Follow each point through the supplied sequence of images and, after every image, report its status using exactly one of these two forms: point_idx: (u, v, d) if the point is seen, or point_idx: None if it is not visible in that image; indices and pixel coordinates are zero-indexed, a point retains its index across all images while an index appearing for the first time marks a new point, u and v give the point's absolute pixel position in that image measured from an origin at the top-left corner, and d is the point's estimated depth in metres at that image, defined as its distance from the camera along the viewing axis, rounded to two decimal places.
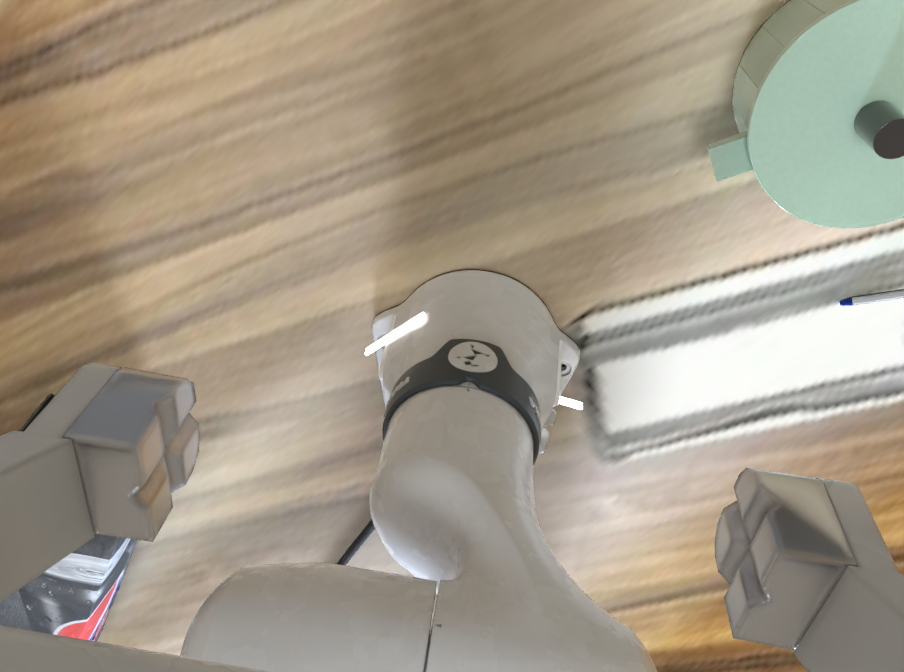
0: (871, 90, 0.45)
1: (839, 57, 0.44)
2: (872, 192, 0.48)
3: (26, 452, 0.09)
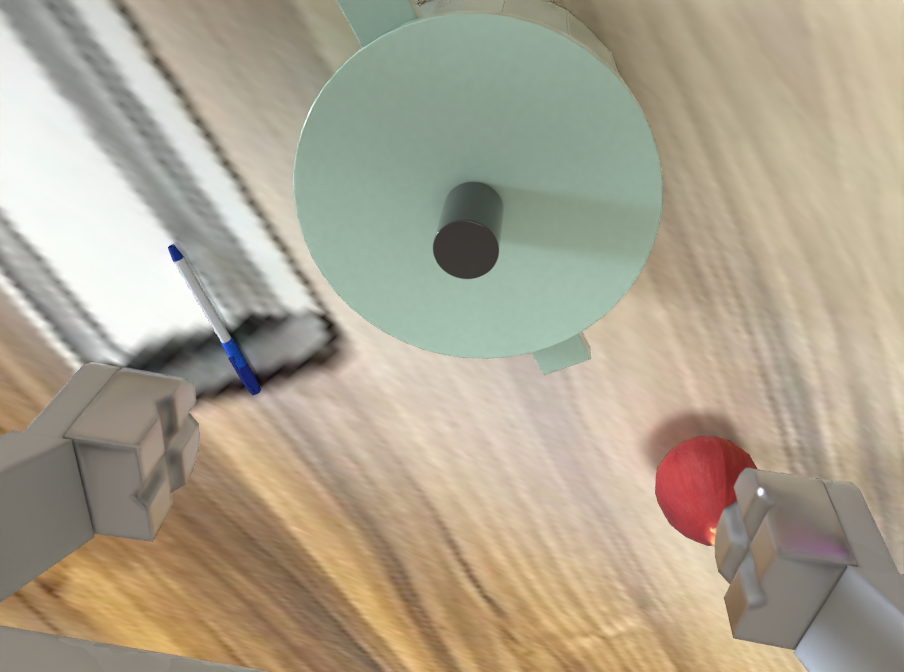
0: (517, 191, 0.29)
1: (565, 130, 0.28)
2: (363, 240, 0.31)
3: (26, 452, 0.09)
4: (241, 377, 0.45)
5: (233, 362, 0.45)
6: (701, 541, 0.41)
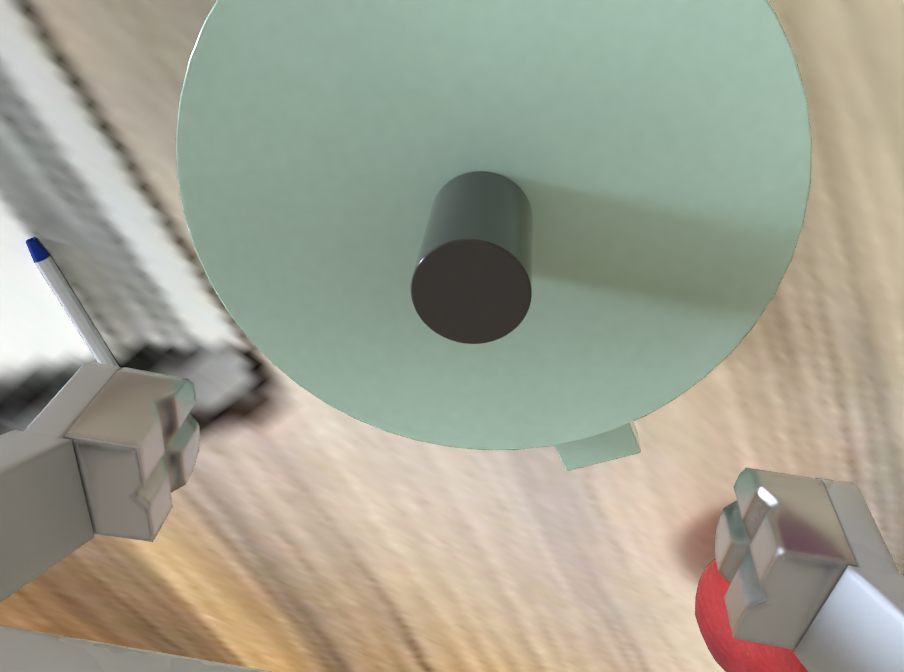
0: (559, 192, 0.17)
1: (654, 89, 0.16)
2: (293, 258, 0.19)
3: (26, 452, 0.09)
4: None
5: None
6: None
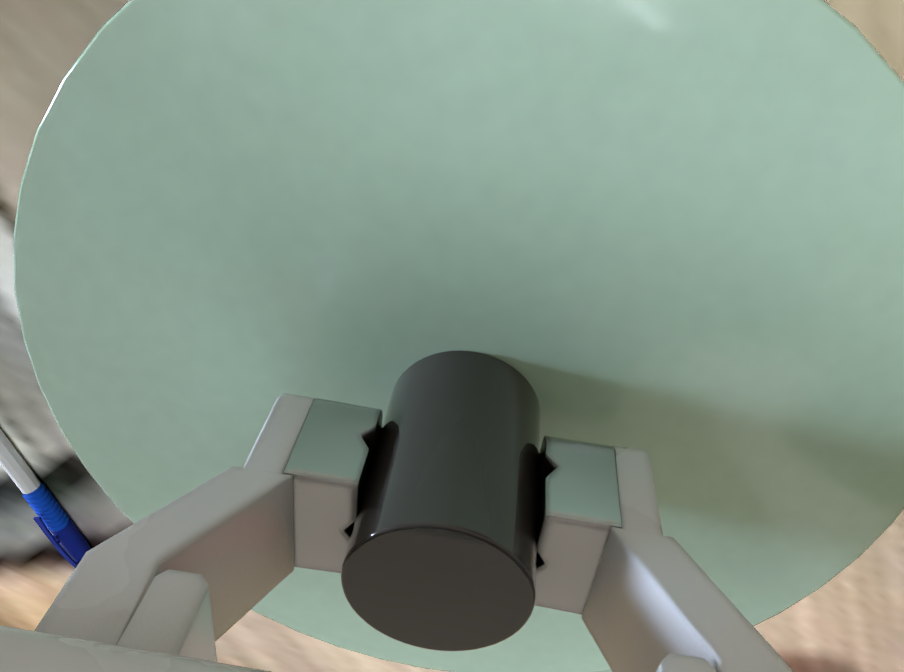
0: (580, 382, 0.11)
1: (735, 250, 0.10)
2: (198, 446, 0.13)
3: (254, 489, 0.09)
4: (57, 547, 0.27)
5: (42, 525, 0.27)
6: None
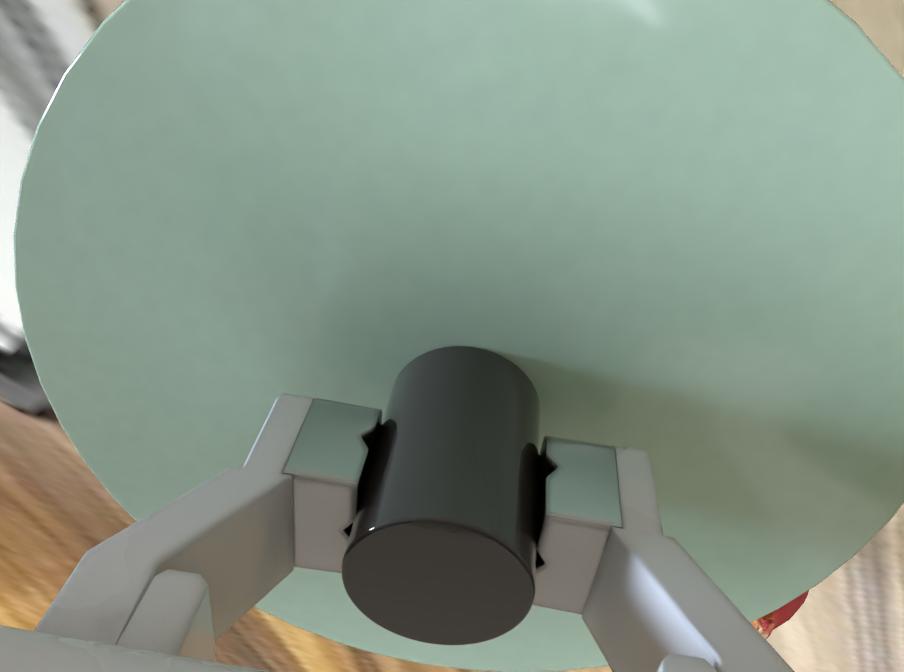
0: (579, 377, 0.12)
1: (733, 245, 0.10)
2: (198, 442, 0.13)
3: (254, 489, 0.09)
4: None
5: None
6: None
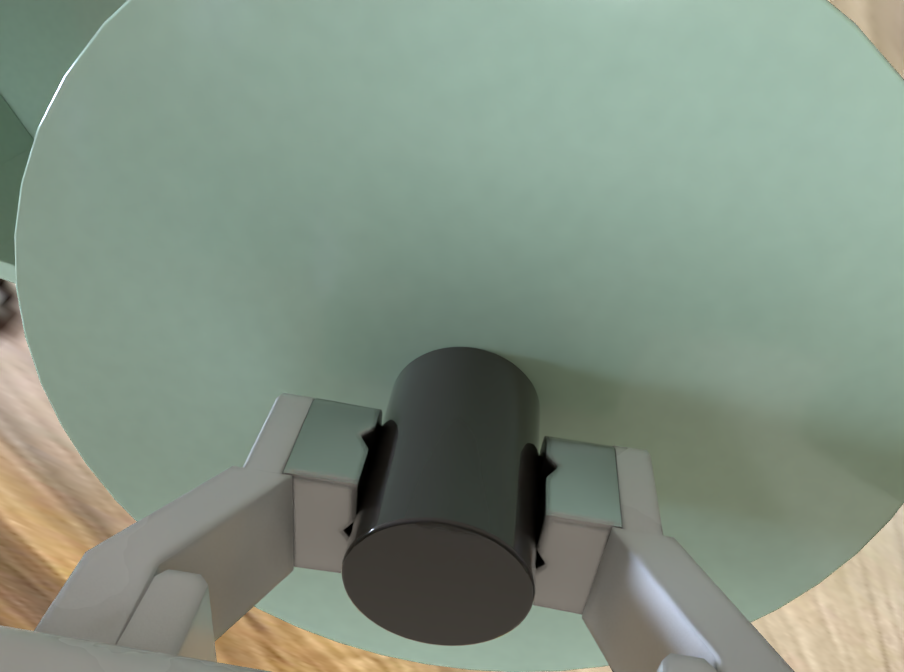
0: (579, 378, 0.12)
1: (733, 246, 0.10)
2: (199, 442, 0.13)
3: (254, 489, 0.09)
4: None
5: None
6: None
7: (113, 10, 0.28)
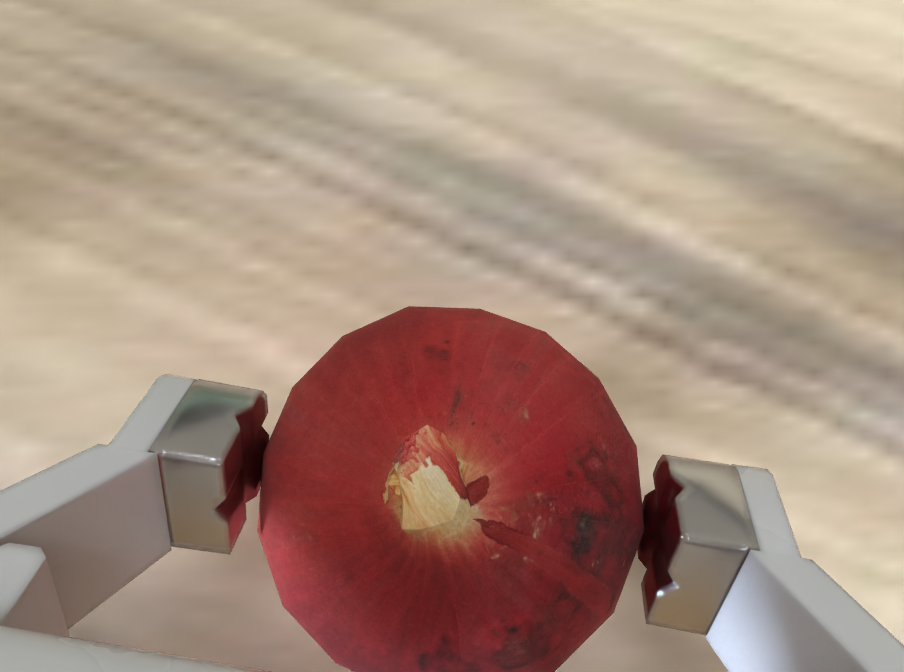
0: None
1: None
2: None
3: (114, 466, 0.09)
4: None
5: None
6: (455, 608, 0.09)
7: None
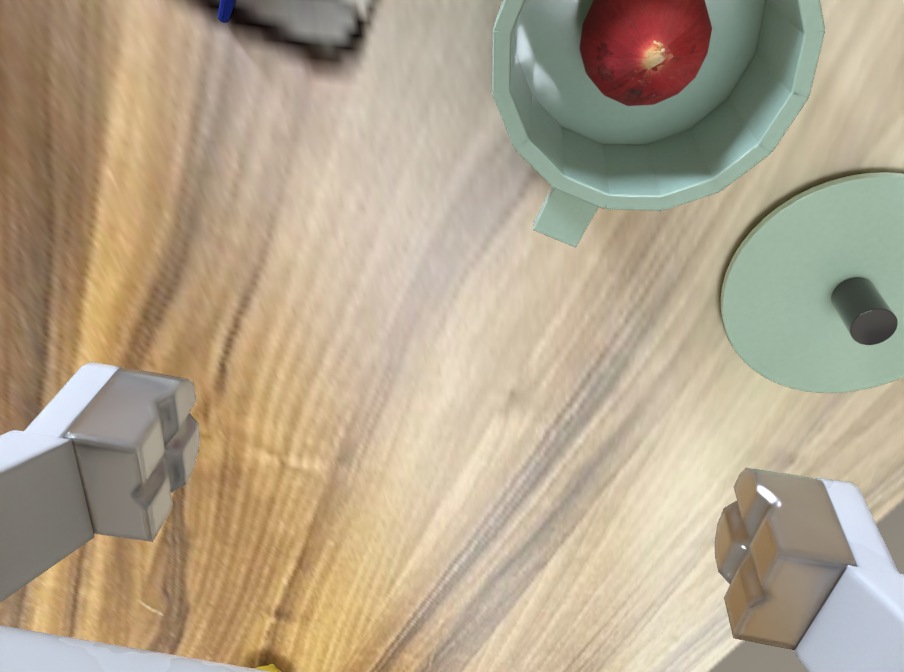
0: None
1: None
2: (788, 254, 0.43)
3: (26, 452, 0.09)
4: None
5: None
6: (621, 58, 0.32)
7: None
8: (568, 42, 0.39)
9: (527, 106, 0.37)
